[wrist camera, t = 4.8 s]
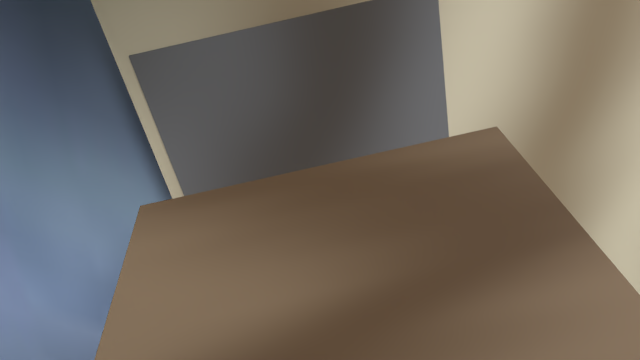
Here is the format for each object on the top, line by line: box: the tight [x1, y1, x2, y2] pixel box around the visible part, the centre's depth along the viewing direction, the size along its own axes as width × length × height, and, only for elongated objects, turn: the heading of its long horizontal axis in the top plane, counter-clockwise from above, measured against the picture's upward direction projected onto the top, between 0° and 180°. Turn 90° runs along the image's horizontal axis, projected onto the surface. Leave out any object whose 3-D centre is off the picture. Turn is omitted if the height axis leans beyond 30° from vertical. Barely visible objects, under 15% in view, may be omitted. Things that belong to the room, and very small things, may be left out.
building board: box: [91, 0, 640, 294], centre depth 15 cm, size 19×18×1 cm
